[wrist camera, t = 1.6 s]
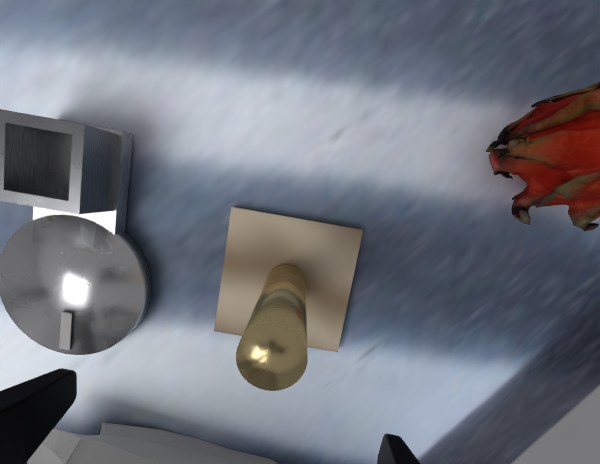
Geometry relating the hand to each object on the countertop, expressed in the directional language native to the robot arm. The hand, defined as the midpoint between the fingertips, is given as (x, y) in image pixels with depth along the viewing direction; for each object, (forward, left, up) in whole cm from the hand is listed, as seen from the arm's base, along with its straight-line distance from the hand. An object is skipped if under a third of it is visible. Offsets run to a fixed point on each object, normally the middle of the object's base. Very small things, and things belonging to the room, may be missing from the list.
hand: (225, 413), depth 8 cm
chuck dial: (0, +15, -14) cm, 21 cm away
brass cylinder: (-1, -1, -14) cm, 14 cm away
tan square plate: (-1, -1, -14) cm, 14 cm away
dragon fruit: (+11, -18, -15) cm, 26 cm away
